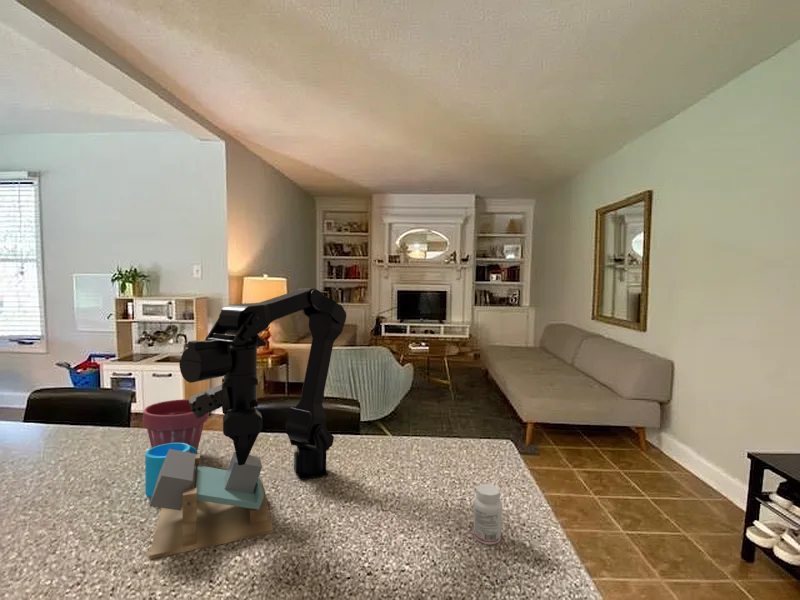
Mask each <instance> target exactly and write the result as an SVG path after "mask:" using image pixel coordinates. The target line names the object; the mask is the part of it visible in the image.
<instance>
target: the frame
mask: <svg viewBox="0 0 800 600" xmlns="http://www.w3.org/2000/svg"><path fill="white" fill-rule="evenodd" d="M198 465H200V466H201V453H198V454H196V456H195V464H194V472H193V480H192V483H191V486H190V488H189V489H185V490H183V506H182V509H181V510H174V509H166V508H160V513H159V515H158V519H157V524H156V528H155V533H154V537H153V540H152V544H151V547H150V553H149V560H152V559H157V558H162V557H168V556H171V555H176V554H181V553H185V552H189V551H195V550H199V549H204V548H209V547H213V546H219V545H224V544H228V543H233V542H236V541H241V540H246V539H250V538H256V537H259V536H266V535H269V534H273V533H274V528H273V523H272V519H271V515H270V509H269V504H268V501H267V498H266V497H267V496H266V493H265V492H266V491H265V489H264V483H263V480H262V478H260V480H261V484H262V488H263V493H264V498H263V500H262V503H261V506H260V508H259V510H258V509H251V508H245V507H238V506H231V505H225V504H218V503H211V502H205V501H198V500H197V488H194V487H195V477H196V470H197V467H198Z"/></svg>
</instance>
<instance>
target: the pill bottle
mask: <svg viewBox="0 0 800 600" xmlns="http://www.w3.org/2000/svg"><path fill="white" fill-rule="evenodd" d="M475 495H476V497H474V500H473V537H474V539H476V540H477V541H478V542H479V543H481V544H484V545H490V546H492V545H496V544H498V543H499V542H500V541H501V539H502V516H503V515H502V513H503V511H502V510H503V504H502V501H501V492H500V489H499V488H498V487H497V486H496V485H493V484H490V483H489V484H488V483H482V484H479V485H477V486H476V491H475Z"/></svg>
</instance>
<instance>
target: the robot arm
mask: <svg viewBox="0 0 800 600" xmlns="http://www.w3.org/2000/svg"><path fill="white" fill-rule="evenodd" d="M297 312H302V314H303V315H304V316H305V317H306V318H308V324H307V325H308V329H309V332H310V335H311V345H310V350H309V354H308V359H307V365H306V370H305V375H304V380H303V385H302V389H301V390H302V391H301V396H300V400H299V401H298V402H297V404H296V405H295V407H289V409H288V411H287V418H286V422H285V424H284V426H285V427H286V429H285V432H286V436H287V437H288V439H289V443H290V445H291V446H295V447H296V451H294V453H293V455H294V456H293V470H294V473H295V474H296V476H297V477H298V479H299V480H307V479H314V478H320V477H325V476H328V475H329V471H328V470H327V451H329V450H330V448H331V447H333V443H334V439H335V437H334V435H333V434H332V433H331V432H330V431H329V430H328V428H326V425H327V415H326V412H325V410H324V407H323V401H324V395H325V389H326V385H327V379H328V373H329V368H330V362H331V357H332V352H333V347H334V344H335V341H336V340H337V339H338V338H339V336H340V335H341V334H342V333H343V330H344V326H345V323H346V320H347V312H346V310H345V308H344V306H343V305H341V304H340V303H338V302H337V301H335V300H333V299H332V298H330V297H328V296H327V295H324V294H323V293H322V292H321V291H320V290H318V289H317V288H313V287H300V288H298V289H296V290H294V291H291V292H288V293H285V294H281V295H278V296H276V297H273V298H269V299H267V300H263V301H261V302H249V303H248V302H247V303H246V302H245V303H235V304H234V303H233V304H227V305H226V306H223V307H222V308H221V310H220V313H219V316H218V318H217V320H216V322H215V323H214V325H213V326H212V328H211V330H210V331H209V333H208V334H207V336H206V337H205V340H188V342H187V348H186V349H185V350H184V351H183V352H182V354H181V357H180V359H179V363H178V364H179V370H180V374H181V376H182V377H183V379H184V380H185V381H186V382H188V383H191V384H193V383H197V382H203V381H206V380H207V381H208V380H212V379H217V378H221V377H222V378H221V384H220V385H217V386H214V387H211V388H209V389H206V390H204V391H200V392H199V393H196V394H194V395H192V396H190V397H189V399H190V400H189V404H190V406H191V408H192V409H191V411H192V412H193V413H194V416H195V418H200V417H203V416H204V415H205V414H207V413H208V414H209V413H212V412H214V411H216V410H219V409H221V410H222V414H223V416H222V433H223V435H224V436H225V437H227V438H229V439H231V440H232V442H233V446H234V452H236V457H237V462H238V465H244V464H245V463H246V460H247V458H248V456H249V455H251V454H250V453H251V451H252V449H253V447H254V445H255V443H256V441H257V438H258V436H259V434H260V433H261V432H262V430H263V416H262V413H261V412H260V411H259V410H258V409H257V407H258V404H259V403H258V402H259V401H258V399H257V396H258V395H257V392H258V391H257V389H258V388H257V385H259V383H258V382H259V380H258V374H257V373H258V371H257V370H258V364H257V363H258V348H259V347H265V346H267V342H266V341H265V340H264V339H262V338H261V337H260V335H259V334H261V333H262V332H265V330H267V329H268V328H269V326H270V325H271V323H273V322H274V321H276V320H279V319H282V318H284V317H287V316H289V315H292V314H294V313H297Z"/></svg>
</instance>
